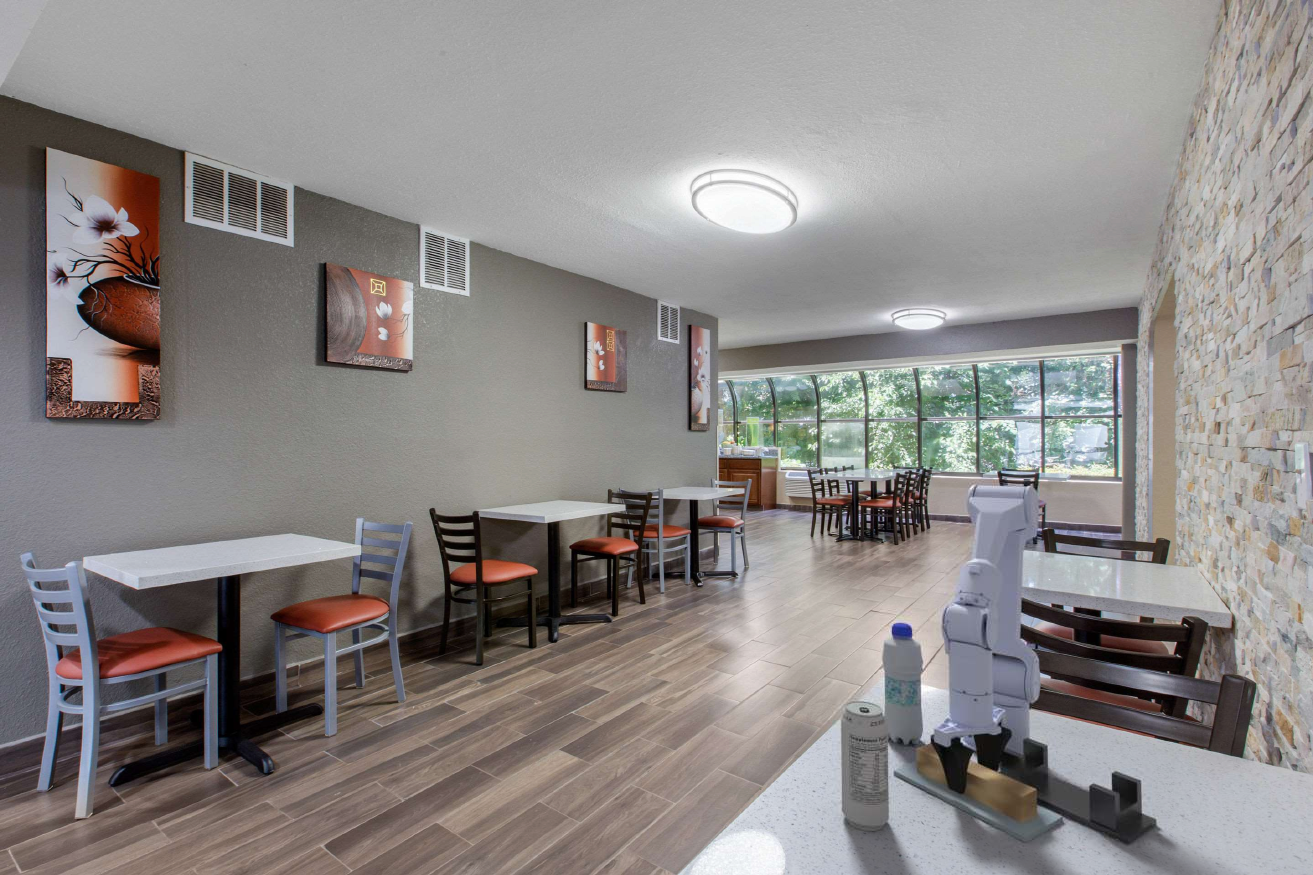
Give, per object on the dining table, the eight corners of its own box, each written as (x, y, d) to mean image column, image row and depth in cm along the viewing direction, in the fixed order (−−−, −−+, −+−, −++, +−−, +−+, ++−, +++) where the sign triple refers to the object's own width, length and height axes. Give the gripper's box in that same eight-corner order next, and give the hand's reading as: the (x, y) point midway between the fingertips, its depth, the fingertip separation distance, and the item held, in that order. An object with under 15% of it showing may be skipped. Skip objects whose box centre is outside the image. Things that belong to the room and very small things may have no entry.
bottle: (928, 749, 105) (926, 629, 105) (886, 746, 106) (884, 627, 107) (919, 732, 111) (918, 618, 112) (880, 729, 113) (878, 617, 113)
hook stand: (989, 781, 95) (989, 745, 95) (1019, 767, 99) (1018, 733, 99) (1128, 844, 79) (1127, 802, 79) (1156, 825, 83) (1155, 784, 83)
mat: (893, 774, 97) (893, 770, 97) (930, 759, 101) (930, 755, 101) (1026, 842, 80) (1025, 837, 80) (1062, 820, 84) (1062, 816, 84)
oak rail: (916, 771, 96) (916, 748, 97) (931, 765, 98) (930, 742, 98) (1022, 823, 83) (1022, 796, 83) (1037, 815, 85) (1036, 789, 85)
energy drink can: (884, 809, 87) (883, 700, 88) (892, 835, 81) (891, 718, 82) (839, 805, 88) (838, 697, 89) (844, 830, 82) (843, 715, 83)
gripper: (966, 708, 84) (968, 811, 83) (1026, 687, 91) (1028, 781, 91) (920, 691, 90) (921, 787, 90) (979, 672, 97) (981, 761, 97)
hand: (972, 783), depth 91 cm, fingers open, 7 cm apart
